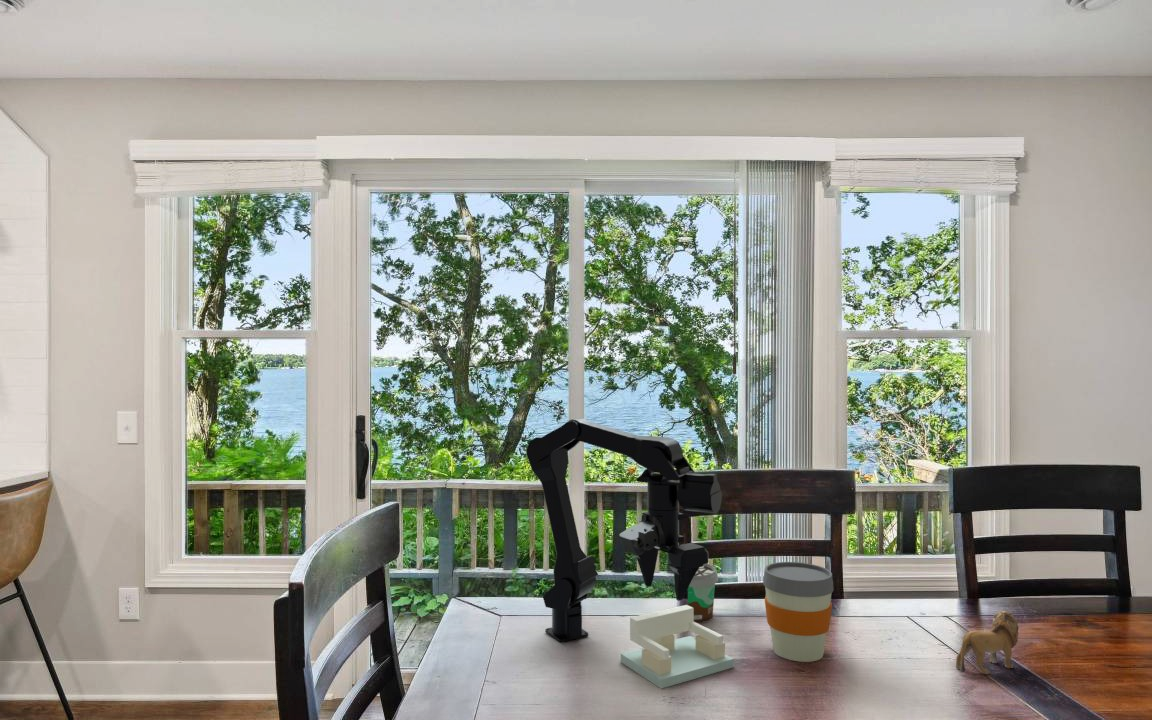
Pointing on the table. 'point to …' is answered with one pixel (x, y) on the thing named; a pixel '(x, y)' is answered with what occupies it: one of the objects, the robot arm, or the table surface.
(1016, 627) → the lion figurine
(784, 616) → the reusable coffee cup
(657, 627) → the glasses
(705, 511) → the robot arm
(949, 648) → the table surface
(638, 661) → the display stand
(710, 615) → the food container
